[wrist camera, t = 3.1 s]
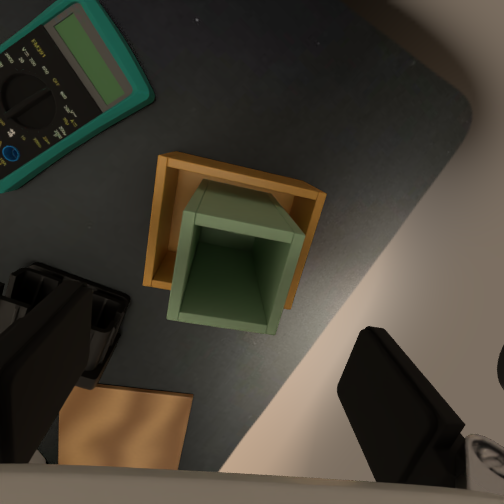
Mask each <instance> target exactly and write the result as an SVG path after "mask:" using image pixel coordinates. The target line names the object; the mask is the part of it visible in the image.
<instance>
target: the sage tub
mask: <svg viewBox="0 0 504 504" xmlns="http://www.w3.org/2000/svg"><path fill="white" fill-rule="evenodd" d="M304 239H305V234H304V233H303V232H302V230H301V229H300V228H299V227H298V226H297V224H296V223H295V222H294V221H293V219H292V218H291V217H290V216H289V215H288V213H287V212H286V211H285V210H284V208H283V207H282V206H281V205H280V204H279V202H278V201H277V200H276V199H275V197H274V196H273V195H272V194H271V193H266V192H262V191H257V190H253V189H249V188H244V187H240V186H235V185H231V184H226V183H222V182H217V181H213V180H208V179H203V180H202V181H201V183H200V184H199V186H198V188H197V189H196V191H195V193H194V194H193V196H192V197H191V199H190V201H189V202H188V204H187V206H186V207H185V209H184V210H183V215H182V221H181V228H180V234H179V241H178V247H177V253H176V260H175V266H174V273H173V279H172V286H171V292H170V298H169V305H168V311H167V319H168V320H175V321H177V320H178V321H180V322H187V323H194V324H201V325H207V326H214V327H221V328H228V329H234V330H241V331H248V332H255V333H261V334H269V335H275V334H276V331H277V328H278V324H279V321H280V318H281V315H282V311H283V308H284V305H285V301H286V298H287V295H288V292H289V288H290V285H291V282H292V279H293V275H294V272H295V269H296V265H297V262H298V259H299V256H300V252H301V249H302V246H303V242H304Z"/></svg>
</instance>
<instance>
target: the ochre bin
mask: <svg viewBox="0 0 504 504" xmlns="http://www.w3.org/2000/svg"><path fill="white" fill-rule="evenodd" d="M203 179H208V180H213V181H217V182H222V183H226V184H231V185H235V186H240V187H244V188H249V189H253V190H257V191H262V192H266V193H271V194H272V195H273V196H274V197H275V199H276V200H277V201H278V202H279V204H280V205H281V206H282V207H283V208H284V210H285V211H286V212H287V213H288V215H289V216H290V217H291V218H292V219H293V221H294V222H295V223H296V224H297V226H298V227H299V228H300V229H301V230H302V232H303V233H304V234H305V239H304V242H303V246H302V249H301V252H300V256H299V259H298V262H297V265H296V269H295V272H294V275H293V279H292V282H291V285H290V288H289V292H288V295H287V298H286V301H285V305H284V309H289V310H290V309H291V306H292V303H293V300H294V297H295V294H296V290H297V287H298V284H299V281H300V278H301V275H302V271H303V268H304V265H305V262H306V259H307V256H308V252H309V249H310V246H311V243H312V240H313V236H314V233H315V230H316V227H317V224H318V221H319V217H320V214H321V211H322V208H323V205H324V202H325V198H326V195H327V194H326V193H325V192H323V191H321V190H319V189H317V188H315V187H314V186H312V185H310V184H308V183H306V182H304V181H301V180H297V179H293V178H289V177H284V176H280V175H276V174H272V173H267V172H263V171H259V170H254V169H250V168H246V167H242V166H237V165H233V164H229V163H225V162H220V161H216V160H212V159H207V158H203V157H199V156H195V155H190V154H186V153H182V152H178V151H175V152H170V153H166V154H161V155H158V161H157V170H156V178H155V187H154V195H153V203H152V212H151V220H150V229H149V237H148V245H147V254H146V262H145V271H144V279H143V286H149V287H155V288H161V289H167V290H171V286H172V279H173V273H174V266H175V260H176V253H177V247H178V241H179V234H180V228H181V221H182V215H183V210H184V209H185V207H186V206H187V204H188V202H189V201H190V199H191V197H192V196H193V194H194V193H195V191H196V189H197V188H198V186H199V184H200V183H201V181H202V180H203Z"/></svg>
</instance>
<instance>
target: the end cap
mask: <svg viewBox="0 0 504 504" xmlns="http://www.w3.org/2000/svg"><path fill="white" fill-rule="evenodd" d="M65 280H73V281H79V282H86V283H87V287H88V288H92V290H93V298H92V316H91V334H90V352H89V360H88V363H87V366H86V368H85V370H84V371H83V373H82V375H81V376H80V378H79V380H78V381H77V383H76V385H75V386H77V387H80V388H84V389H87V390H92V389H94V388H95V386H96V385H97V383H98V382H99V380H100V378H101V376H102V374H103V372H104V370H105V368H106V366H107V364H108V362H109V360H110V358H111V356H112V354H113V352H114V349H115V347H116V345H117V343H118V340H119V338H120V336H121V335H120V333H118V330H119V327H120V325H121V322H122V320H123V318H124V315H125V312H126V309H127V307H128V304H129V302H130V298H129V296H127V295H126V294H123V293H120V292H117V291H115V290H112V289H109V288H106V287H104V286H101V285H98V284H95V283H93V282H90V281H87V280H84V279H82V278H79V277H76V276H73V275H71V274H68V273H65V272H63V271H60V270H57V269H54V268H52V267H49V266H46V265H43V264H41V263H34V264H32V265H30V266H29V267H28V268H21V269H19V270H17V271H16V272H13V273H11V275H10V279H9V283H8V286H7V290H6V294H5V296H2V293H3V289H4V285H5V284H4V283H1V282H0V334H1V333H2V332H3V331H4V330H5V329H7V328H8V327H9V326H10V325H11V324H12V323H13V322H15V321H16V320H17V319H19V318H22V317H24V316H25V315H26V314H27V313H29V312H30V311H31V310H32V309H33V308H34V307H35V306H36V305H37V304H39V303H40V302H41V301H42V300H43V299H44V298H45V297H46V296H48V295H49V294H50V293H51V292H52V291H53V290H54V289H55V288H56V287H58V286H59V285H60V284H61V283H62V282H63V281H65Z"/></svg>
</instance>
